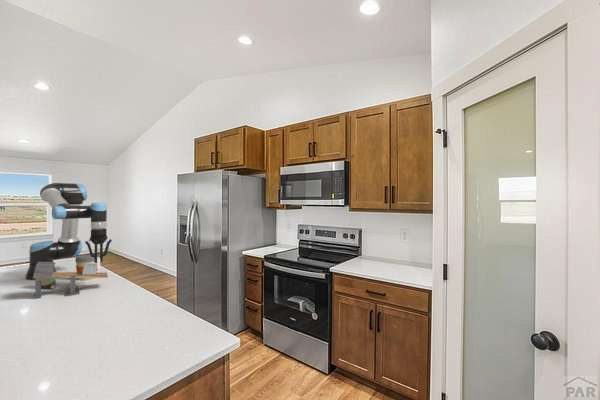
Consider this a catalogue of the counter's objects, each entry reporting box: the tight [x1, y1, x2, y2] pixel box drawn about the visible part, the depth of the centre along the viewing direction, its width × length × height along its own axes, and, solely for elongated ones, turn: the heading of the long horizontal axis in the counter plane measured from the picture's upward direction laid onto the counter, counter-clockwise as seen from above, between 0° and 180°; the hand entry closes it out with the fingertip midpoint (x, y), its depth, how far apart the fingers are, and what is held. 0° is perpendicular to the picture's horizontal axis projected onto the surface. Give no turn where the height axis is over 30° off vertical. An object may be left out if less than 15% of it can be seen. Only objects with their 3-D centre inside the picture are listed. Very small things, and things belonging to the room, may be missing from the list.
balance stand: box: [34, 276, 81, 300], centre depth 148 cm, size 12×18×10 cm, turn 129°
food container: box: [35, 269, 58, 291], centre depth 159 cm, size 12×6×10 cm, turn 84°
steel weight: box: [82, 264, 97, 275], centre depth 156 cm, size 5×6×6 cm
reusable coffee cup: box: [75, 253, 100, 281], centre depth 178 cm, size 12×12×15 cm
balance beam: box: [33, 261, 109, 279], centre depth 152 cm, size 9×32×8 cm, turn 129°
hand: (98, 268), depth 159 cm, fingers closed
